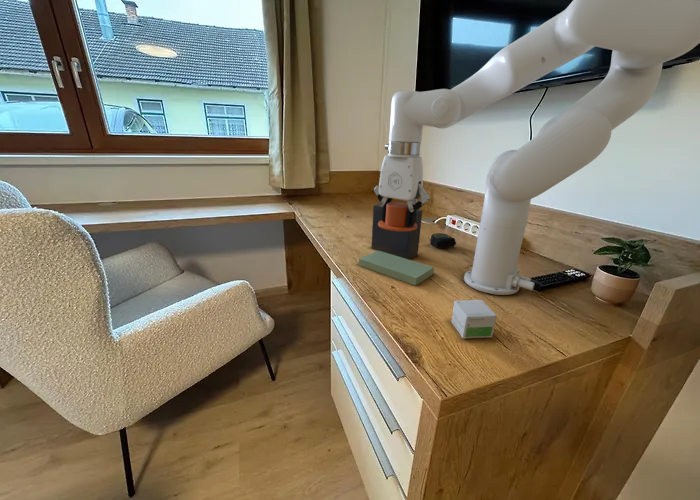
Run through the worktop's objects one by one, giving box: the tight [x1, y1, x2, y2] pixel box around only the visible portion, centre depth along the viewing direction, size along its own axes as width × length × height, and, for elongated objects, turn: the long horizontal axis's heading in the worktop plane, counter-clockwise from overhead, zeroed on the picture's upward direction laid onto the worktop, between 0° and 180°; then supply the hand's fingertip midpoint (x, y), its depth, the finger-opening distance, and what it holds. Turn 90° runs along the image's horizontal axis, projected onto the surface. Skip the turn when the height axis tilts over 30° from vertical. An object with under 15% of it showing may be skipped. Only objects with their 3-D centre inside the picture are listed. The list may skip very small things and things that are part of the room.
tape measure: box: [429, 232, 457, 249], centre depth 102 cm, size 7×7×4 cm
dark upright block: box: [370, 203, 423, 260], centre depth 94 cm, size 14×5×14 cm, turn 49°
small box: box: [450, 299, 497, 340], centre depth 57 cm, size 6×6×5 cm
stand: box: [358, 250, 435, 286], centre depth 83 cm, size 18×9×2 cm, turn 49°
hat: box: [378, 201, 417, 231], centre depth 78 cm, size 10×10×6 cm
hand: (397, 222), depth 79 cm, fingers closed on hat, 6 cm apart
